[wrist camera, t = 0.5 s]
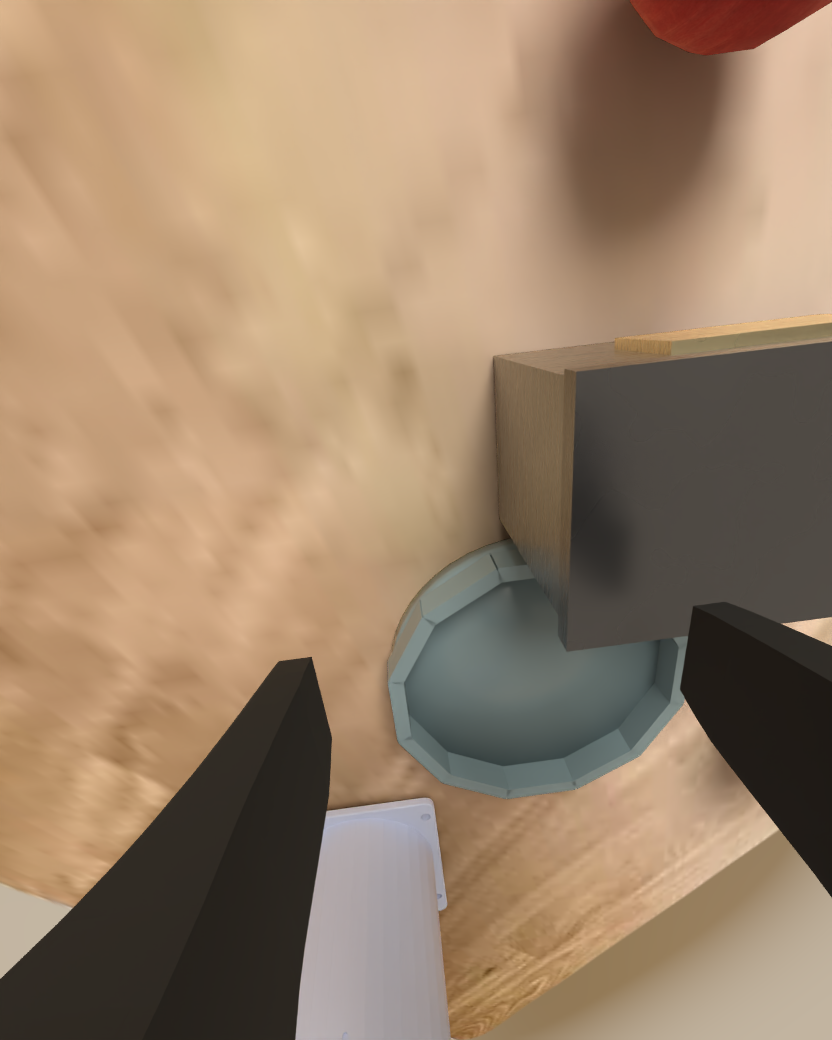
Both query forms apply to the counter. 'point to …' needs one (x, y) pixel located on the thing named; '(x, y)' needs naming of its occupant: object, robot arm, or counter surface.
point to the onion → (722, 21)
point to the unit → (671, 476)
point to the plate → (519, 685)
